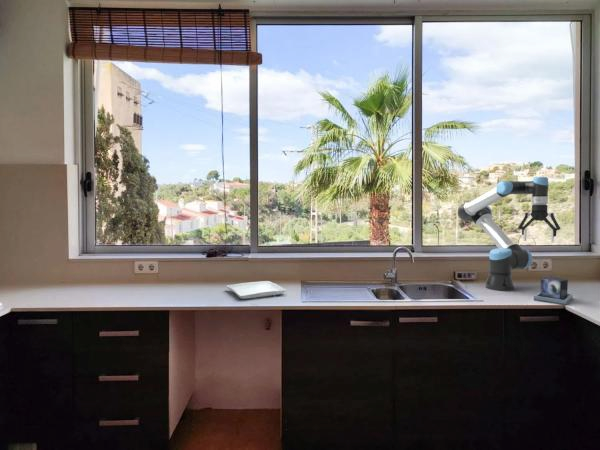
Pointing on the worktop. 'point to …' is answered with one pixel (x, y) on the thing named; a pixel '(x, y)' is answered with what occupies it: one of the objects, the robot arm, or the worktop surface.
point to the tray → (552, 300)
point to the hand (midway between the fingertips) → (538, 241)
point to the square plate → (256, 289)
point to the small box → (554, 287)
